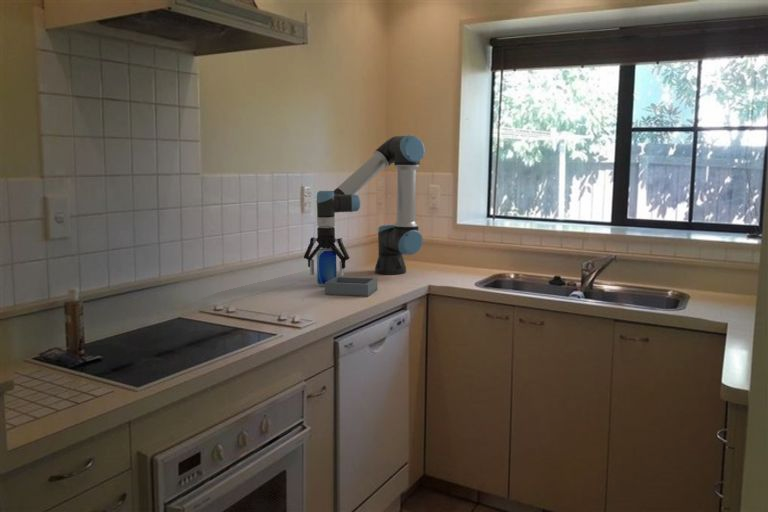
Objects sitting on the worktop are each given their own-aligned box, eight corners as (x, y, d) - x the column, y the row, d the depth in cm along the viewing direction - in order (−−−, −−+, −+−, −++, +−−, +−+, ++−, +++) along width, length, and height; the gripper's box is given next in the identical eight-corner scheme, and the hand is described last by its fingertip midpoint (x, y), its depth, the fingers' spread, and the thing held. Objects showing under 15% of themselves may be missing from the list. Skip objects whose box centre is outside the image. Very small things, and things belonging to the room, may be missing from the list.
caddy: (336, 288, 281) (336, 276, 281) (377, 289, 277) (377, 278, 276) (325, 294, 268) (324, 282, 267) (367, 296, 263) (367, 284, 263)
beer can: (321, 287, 282) (320, 250, 280) (315, 284, 290) (314, 248, 287) (339, 286, 286) (338, 249, 283) (333, 282, 293) (332, 247, 291)
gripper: (295, 227, 283) (296, 275, 286) (350, 228, 277) (351, 277, 280) (302, 225, 291) (303, 272, 294) (356, 226, 284) (356, 274, 287)
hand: (326, 275), depth 287 cm, fingers open, 13 cm apart
